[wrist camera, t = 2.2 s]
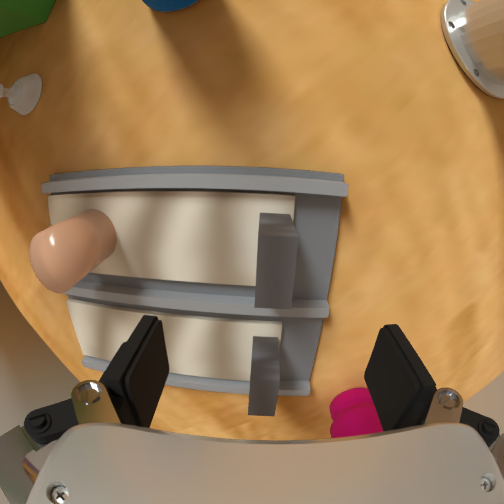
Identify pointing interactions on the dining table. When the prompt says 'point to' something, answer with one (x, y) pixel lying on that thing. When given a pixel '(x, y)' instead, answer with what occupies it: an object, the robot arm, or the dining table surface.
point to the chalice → (23, 93)
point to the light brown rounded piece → (72, 249)
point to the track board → (225, 295)
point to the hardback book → (23, 14)
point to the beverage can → (168, 4)
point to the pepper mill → (354, 414)
